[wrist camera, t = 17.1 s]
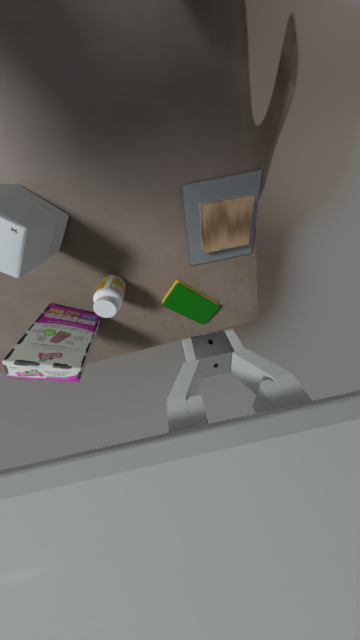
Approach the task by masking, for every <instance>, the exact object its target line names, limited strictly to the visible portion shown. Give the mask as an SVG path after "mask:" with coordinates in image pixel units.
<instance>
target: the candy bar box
mask: <svg viewBox="0 0 360 640" xmlns="http://www.w3.org/2000/svg"><path fill="white" fill-rule="evenodd" d="M100 318H101V316H99V315H97V314H96V313H93V312H88V311H83V310H79V309H74V308H69V307H64V306H60V305H55V304H49V306H48V307H47V308H46V309H45V310H44V311H43V313H42V314H41V315H40V316H39V317H38V319H37V320H36V321H35V322H34V323H33V325H32V326H31V327H30V328H29V330H28V331H27V332H26V333H25V334H24V336H23V337H22V338H21V339H20V340H19V341H18V343H17V344H16V345H15V346H14V348H13V349H12V350H11V351H10V352H9V354H8V355H7V356H6V357H5V358H4V360H3V361H2V362H3V364H4V367H5V370H6V372H7V373H6V375H7V377H11V378H25V379H40V380H55V381H70V382H80V380H81V377H82V374H83V371H84V368H85V365H86V362H87V359H88V357H89V354H90V351H91V348H92V345H93V342H94V339H95V337H96V334H97V331H98V328H99V323H100Z"/></svg>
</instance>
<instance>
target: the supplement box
mask: <svg viewBox="0 0 360 640" xmlns="http://www.w3.org/2000/svg"><path fill="white" fill-rule="evenodd" d="M68 218H69V215H68V214H66V213H64V212H63V211H61V210H60V209H58V208H56V207H55V206H53V205H52V204H50V203H48V202H47V201H45V200H43V199H42V198H40V197H38V196H37V195H35V194H33V193H32V192H30V191H28V190H27V189H25V188H24V187H22V186H20V185H19V184H0V272H3V273H5V274H7V275H10V276H12V277H15V278H17V279H18V278H20V277H21V276H23V275H24V274H26V273H27V272H29V271H30V270H32V269H33V268H35V267H36V266H37V265H39V264H40V263H42V262H43V261H45V260H46V259H48V258H49V257H50V256H52V255H53V254H55V253H56V252H58V251H59V250H60V247H61V243H62V240H63V236H64V233H65V229H66V225H67V222H68Z"/></svg>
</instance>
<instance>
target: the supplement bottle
mask: <svg viewBox="0 0 360 640" xmlns="http://www.w3.org/2000/svg"><path fill="white" fill-rule="evenodd" d="M125 291H126V284H125V282H124V281H123V279H122V278H120V277H119V276H116V275H107V276H105V277H104V278H103V279H102V280H101V282H100V284H99V286H98V288H97V290H96V292H95V294H94V297H93V301H94V306H93V309H94V312H95V313H96V314H97V315H99V316H101V317H104V318H110V317H113V316H114V315H115V314H116V312H117V311H118V310H119V309H120V308H121V307H122V304H123V300H124V295H125Z"/></svg>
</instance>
